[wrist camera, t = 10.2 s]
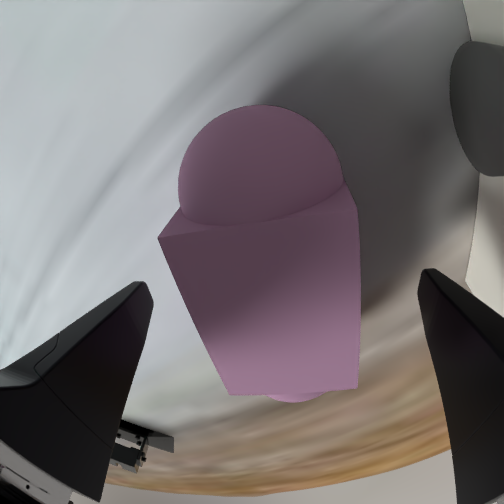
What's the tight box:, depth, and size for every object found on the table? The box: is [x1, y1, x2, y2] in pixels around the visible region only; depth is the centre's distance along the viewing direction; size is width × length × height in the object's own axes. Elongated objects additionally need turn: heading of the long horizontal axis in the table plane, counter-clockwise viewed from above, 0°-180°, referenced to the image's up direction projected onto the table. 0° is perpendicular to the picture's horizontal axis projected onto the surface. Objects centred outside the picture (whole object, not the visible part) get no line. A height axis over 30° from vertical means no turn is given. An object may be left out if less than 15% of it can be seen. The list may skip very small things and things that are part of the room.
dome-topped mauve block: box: [158, 105, 361, 402], centre depth 10 cm, size 11×4×4 cm, turn 13°
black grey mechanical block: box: [109, 419, 174, 473], centre depth 24 cm, size 12×7×5 cm, turn 77°
